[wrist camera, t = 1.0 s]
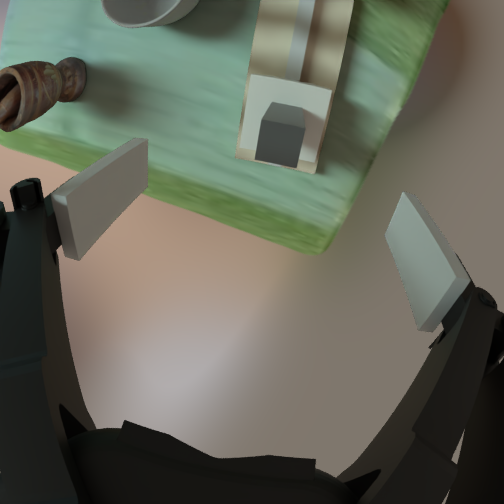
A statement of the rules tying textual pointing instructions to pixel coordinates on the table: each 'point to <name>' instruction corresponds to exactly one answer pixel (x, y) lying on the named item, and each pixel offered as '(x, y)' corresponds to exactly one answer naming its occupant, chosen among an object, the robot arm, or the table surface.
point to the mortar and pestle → (37, 89)
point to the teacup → (146, 11)
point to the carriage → (284, 119)
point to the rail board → (315, 55)
